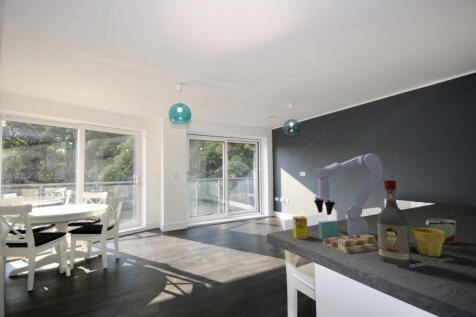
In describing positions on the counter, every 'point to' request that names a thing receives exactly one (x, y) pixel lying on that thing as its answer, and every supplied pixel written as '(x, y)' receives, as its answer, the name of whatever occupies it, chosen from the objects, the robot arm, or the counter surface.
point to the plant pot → (428, 240)
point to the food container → (443, 228)
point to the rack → (354, 249)
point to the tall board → (328, 229)
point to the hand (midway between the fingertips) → (324, 213)
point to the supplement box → (300, 227)
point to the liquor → (393, 230)
